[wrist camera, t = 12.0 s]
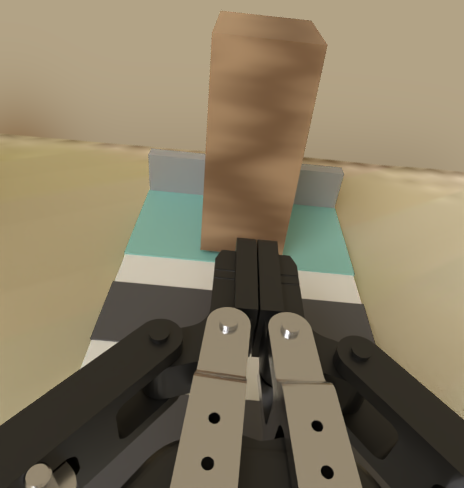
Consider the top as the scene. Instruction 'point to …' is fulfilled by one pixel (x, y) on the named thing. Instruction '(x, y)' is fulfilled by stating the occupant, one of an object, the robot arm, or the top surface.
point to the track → (201, 282)
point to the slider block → (257, 125)
